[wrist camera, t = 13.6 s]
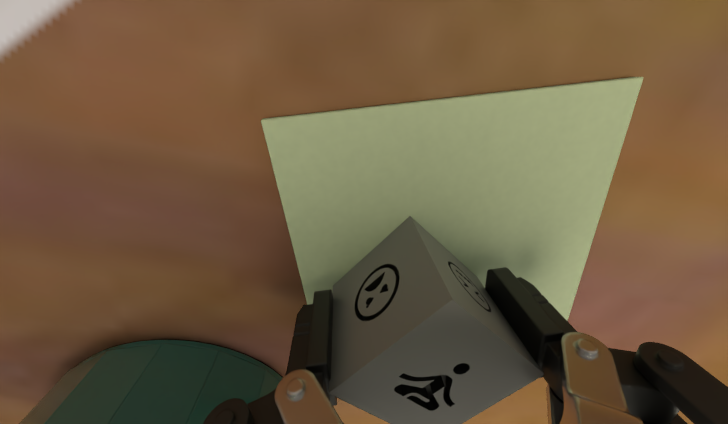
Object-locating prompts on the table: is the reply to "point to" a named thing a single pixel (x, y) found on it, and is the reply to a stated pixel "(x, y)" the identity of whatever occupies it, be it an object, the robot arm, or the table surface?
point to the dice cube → (421, 336)
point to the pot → (153, 385)
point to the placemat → (456, 180)
